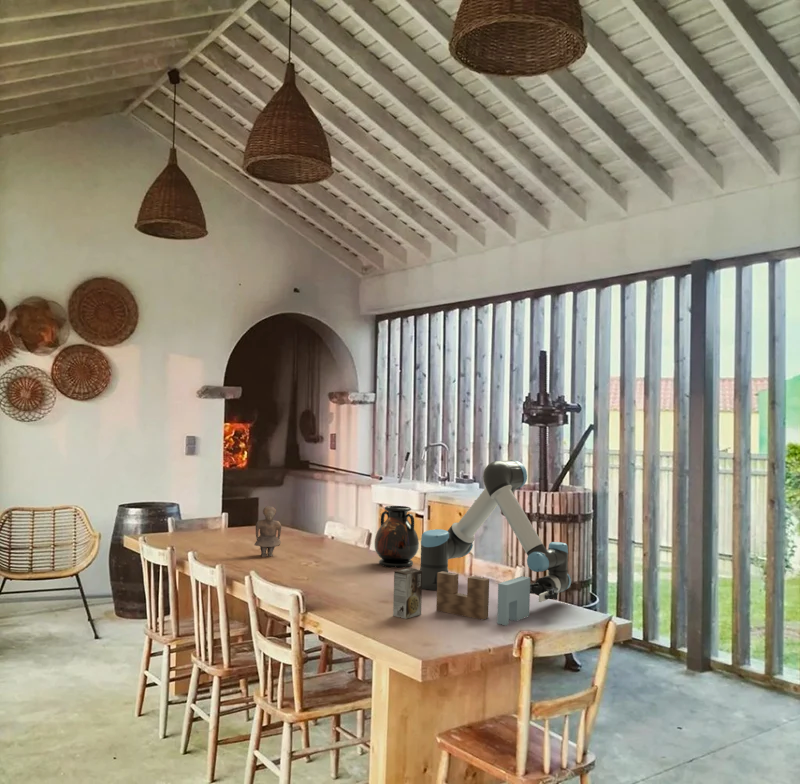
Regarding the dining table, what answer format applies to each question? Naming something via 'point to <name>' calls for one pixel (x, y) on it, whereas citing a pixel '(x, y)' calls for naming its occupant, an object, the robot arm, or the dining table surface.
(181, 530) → the dining table surface
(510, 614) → the light blue block
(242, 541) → the dining table surface
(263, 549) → the clay figurine
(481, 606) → the u-shaped checkered block
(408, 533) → the amphora vase
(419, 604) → the coffee box
